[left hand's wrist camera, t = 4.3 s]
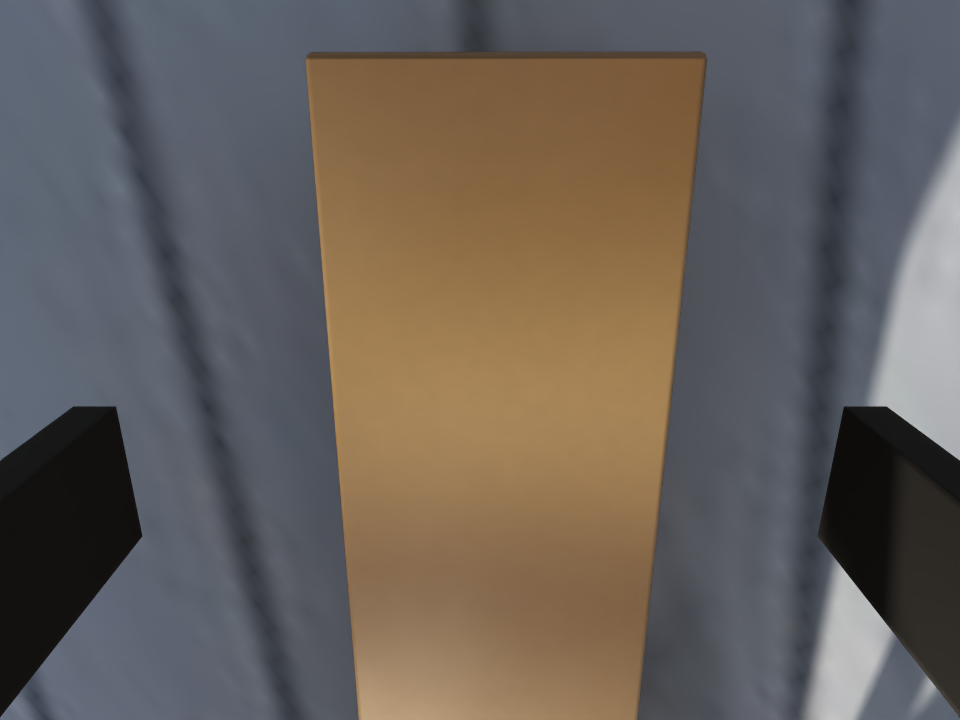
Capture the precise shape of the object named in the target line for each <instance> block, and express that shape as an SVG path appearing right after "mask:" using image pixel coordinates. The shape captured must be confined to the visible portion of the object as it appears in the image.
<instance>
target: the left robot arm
mask: <svg viewBox="0 0 960 720" xmlns="http://www.w3.org/2000/svg"><path fill="white" fill-rule="evenodd" d="M141 537H142V532H141V527H140V522H139V517H138V512H137V508H136V503H135V498H134V493H133V488H132V483H131V478H130V473H129V468H128V463H127V458H126V453H125V448H124V444H123V439H122V434H121V429H120V424H119V419H118V414H117V409H116V407H72V408H71V409H70V410H68V411H67V412H65V413H64V414H63V415H61V416H60V417H59V418H57V419H56V420H55V421H53V422H52V423H51V424H49V425H48V426H47V427H45V428H44V429H42V430H41V431H40V432H38V433H37V434H36V435H34V436H33V437H32V438H30V439H29V440H28V441H26V442H25V443H24V444H22V445H21V446H19V447H18V448H17V449H15V450H14V451H13V452H11V453H10V454H9V455H7V456H6V457H5V458H3V459H2V460H0V717H1V715H2V714H3V713H4V712H5V710H6V709H7V708H8V707H9V705H10V704H11V703H12V701H13V700H14V699H15V698H16V696H17V695H18V694H19V693H20V691H21V690H22V689H23V687H24V686H25V685H26V684H27V682H28V681H29V680H30V679H31V677H32V676H33V675H34V673H35V672H36V671H37V670H38V668H39V667H40V666H41V665H42V663H43V662H44V661H45V659H46V658H47V657H48V656H49V654H50V653H51V652H52V651H53V649H54V648H55V647H56V645H57V644H58V643H59V642H60V640H61V639H62V638H63V637H64V635H65V634H66V633H67V631H68V630H69V629H70V628H71V626H72V625H73V624H74V623H75V621H76V620H77V619H78V617H79V616H80V615H81V614H82V612H83V611H84V610H85V609H86V607H87V606H88V605H89V603H90V602H91V601H92V600H93V598H94V597H95V596H96V595H97V593H98V592H99V591H100V589H101V588H102V587H103V586H104V584H105V583H106V582H107V581H108V579H109V578H110V577H111V575H112V574H113V573H114V572H115V570H116V569H117V568H118V567H119V565H120V564H121V563H122V561H123V560H124V559H125V558H126V556H127V555H128V554H129V553H130V551H131V550H132V549H133V547H134V546H135V545H136V544H137V542H138V541H139V540H140V538H141ZM818 537H819V539H820V540H821V541H822V542H823V544H824V545H825V546H826V547H827V549H828V550H829V551H830V553H831V554H832V555H833V556H834V558H835V559H836V560H837V561H838V563H839V564H840V565H841V567H842V568H843V569H844V570H845V572H846V573H847V574H848V575H849V577H850V578H851V579H852V581H853V582H854V583H855V584H856V586H857V587H858V588H859V589H860V591H861V592H862V593H863V595H864V596H865V597H866V598H867V600H868V601H869V602H870V603H871V605H872V606H873V607H874V609H875V610H876V611H877V612H878V614H879V615H880V616H881V617H882V619H883V620H884V621H885V623H886V624H887V625H888V626H889V628H890V629H891V630H892V631H893V633H894V634H895V635H896V637H897V638H898V639H899V640H900V642H901V643H902V644H903V645H904V647H905V648H906V649H907V651H908V652H909V653H910V654H911V656H912V657H913V658H914V659H915V661H916V662H917V663H918V665H919V666H920V667H921V668H922V670H923V671H924V672H925V673H926V675H927V676H928V677H929V679H930V680H931V681H932V682H933V684H934V685H935V686H936V687H937V689H938V690H939V691H940V693H941V694H942V695H943V696H944V698H945V699H946V700H947V701H948V703H949V704H950V705H951V707H952V708H953V709H954V710H955V712H956V713H957V714H958V715H959V717H960V460H958V459H957V458H955V457H954V456H953V455H951V454H950V453H949V452H947V451H946V450H945V449H943V448H942V447H941V446H939V445H938V444H936V443H935V442H934V441H932V440H931V439H930V438H928V437H927V436H926V435H924V434H923V433H922V432H920V431H919V430H918V429H916V428H915V427H913V426H912V425H911V424H909V423H908V422H907V421H905V420H904V419H903V418H901V417H900V416H899V415H897V414H896V413H895V412H893V411H892V410H890V409H889V408H888V407H844V409H843V414H842V419H841V424H840V429H839V434H838V439H837V444H836V448H835V453H834V458H833V463H832V468H831V473H830V478H829V483H828V488H827V493H826V498H825V503H824V508H823V512H822V517H821V522H820V527H819V532H818Z"/></svg>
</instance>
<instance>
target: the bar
mask: <svg viewBox="0 0 960 720" xmlns="http://www.w3.org/2000/svg"><path fill="white" fill-rule="evenodd" d="M305 63H306V76H307V88H308V100H309V113H310V125H311V137H312V150H313V162H314V174H315V187H316V199H317V211H318V224H319V236H320V249H321V261H322V273H323V286H324V298H325V310H326V323H327V335H328V347H329V360H330V372H331V384H332V397H333V409H334V421H335V434H336V446H337V458H338V471H339V483H340V495H341V508H342V520H343V532H344V545H345V557H346V570H347V582H348V594H349V607H350V619H351V631H352V644H353V656H354V668H355V681H356V693H357V705H358V718H359V720H638V712H639V702H640V693H641V683H642V674H643V664H644V655H645V645H646V636H647V626H648V617H649V607H650V598H651V588H652V579H653V569H654V560H655V550H656V541H657V531H658V522H659V512H660V503H661V493H662V484H663V474H664V465H665V455H666V446H667V436H668V427H669V417H670V408H671V398H672V389H673V379H674V370H675V360H676V351H677V341H678V332H679V323H680V313H681V304H682V294H683V285H684V275H685V266H686V256H687V247H688V237H689V228H690V218H691V209H692V199H693V190H694V180H695V171H696V161H697V152H698V142H699V133H700V123H701V114H702V104H703V95H704V85H705V76H706V66H707V58H706V54H704V53H702V52H311V53H309V54H307V56H306V60H305Z"/></svg>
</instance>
